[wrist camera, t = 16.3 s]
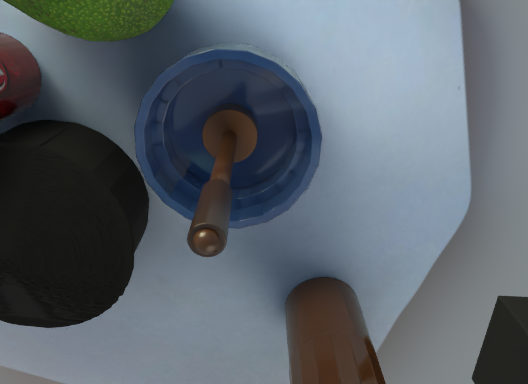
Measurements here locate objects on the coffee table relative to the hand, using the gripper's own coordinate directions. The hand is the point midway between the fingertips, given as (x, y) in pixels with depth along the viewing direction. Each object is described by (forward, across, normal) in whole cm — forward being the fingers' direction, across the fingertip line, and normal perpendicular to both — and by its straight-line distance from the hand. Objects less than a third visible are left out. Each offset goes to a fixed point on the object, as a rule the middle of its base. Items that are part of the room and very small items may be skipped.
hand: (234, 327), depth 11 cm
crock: (+33, +9, -25) cm, 42 cm away
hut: (+32, -19, -12) cm, 40 cm away
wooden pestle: (+32, -2, -4) cm, 32 cm away
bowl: (+32, -2, -4) cm, 33 cm away
